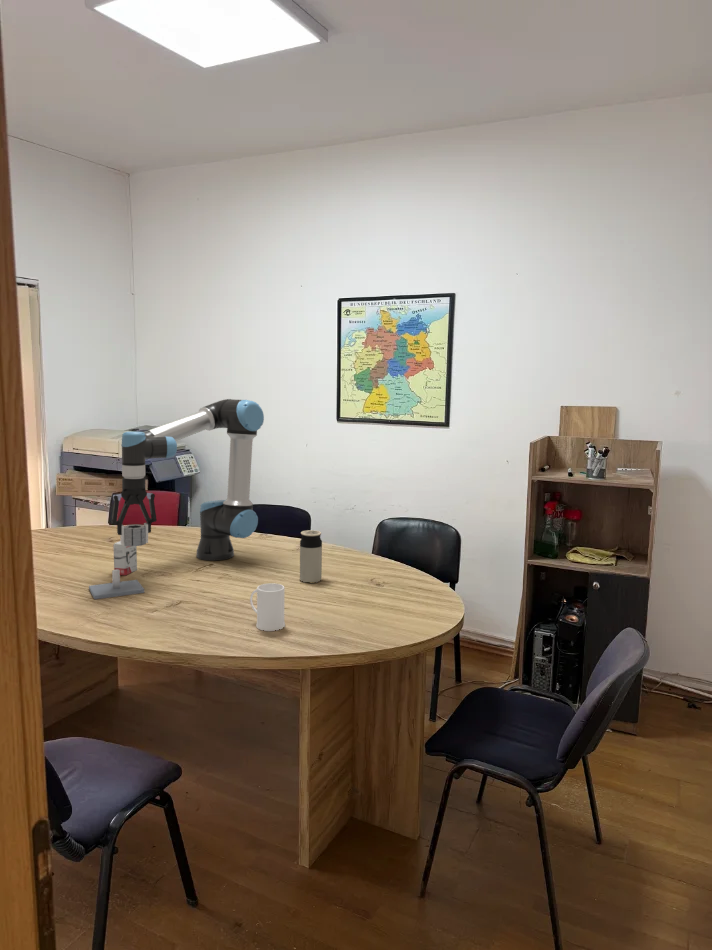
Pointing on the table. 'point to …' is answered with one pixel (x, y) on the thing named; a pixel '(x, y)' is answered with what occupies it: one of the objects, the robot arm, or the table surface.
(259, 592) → the mug
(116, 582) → the shaft stand
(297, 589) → the table surface
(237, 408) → the robot arm
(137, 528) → the cylinder
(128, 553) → the ink box
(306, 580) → the travel mug
